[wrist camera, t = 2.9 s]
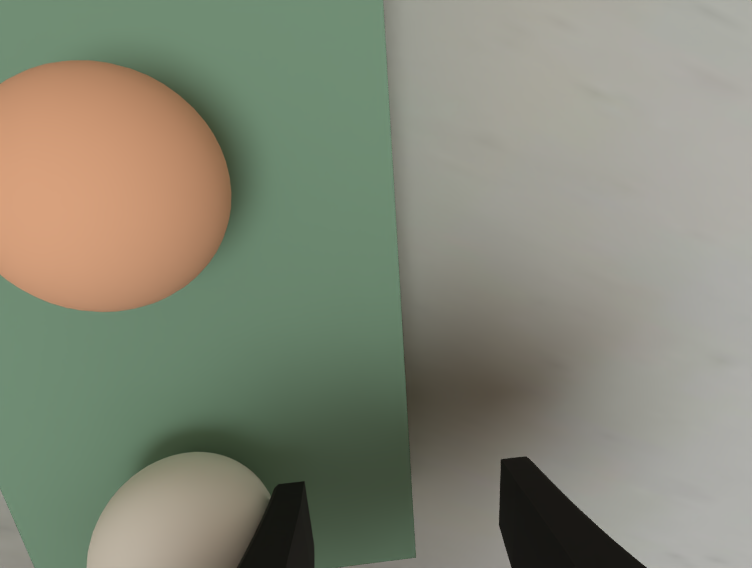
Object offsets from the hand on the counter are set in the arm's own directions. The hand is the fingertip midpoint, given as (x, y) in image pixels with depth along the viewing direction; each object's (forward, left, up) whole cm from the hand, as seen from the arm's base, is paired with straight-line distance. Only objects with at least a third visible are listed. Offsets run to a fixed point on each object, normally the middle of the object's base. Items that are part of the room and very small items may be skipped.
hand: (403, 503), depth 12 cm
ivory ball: (0, +5, 0) cm, 5 cm away
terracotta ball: (+8, +5, 0) cm, 9 cm away
